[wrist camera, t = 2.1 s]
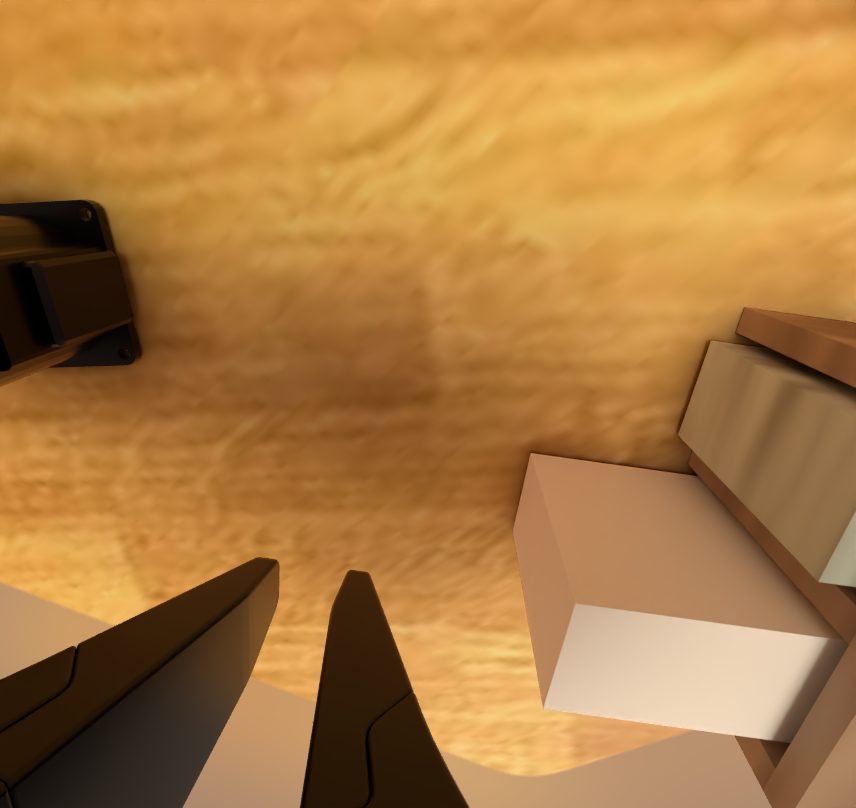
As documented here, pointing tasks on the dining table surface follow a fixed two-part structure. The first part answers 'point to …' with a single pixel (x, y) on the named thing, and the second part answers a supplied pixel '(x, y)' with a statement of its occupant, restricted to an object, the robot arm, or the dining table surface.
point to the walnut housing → (792, 511)
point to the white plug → (662, 605)
